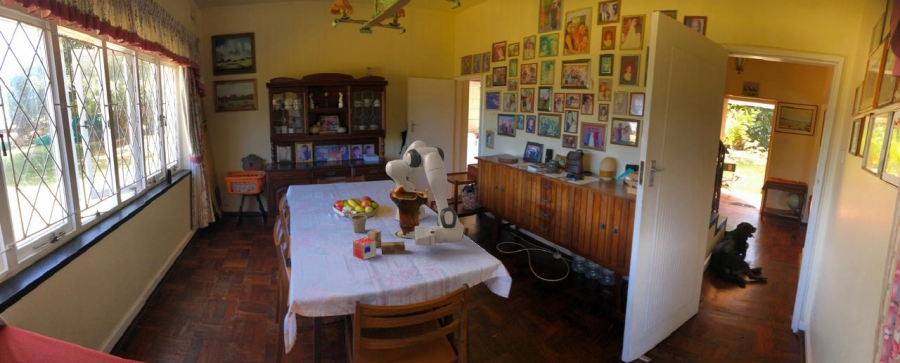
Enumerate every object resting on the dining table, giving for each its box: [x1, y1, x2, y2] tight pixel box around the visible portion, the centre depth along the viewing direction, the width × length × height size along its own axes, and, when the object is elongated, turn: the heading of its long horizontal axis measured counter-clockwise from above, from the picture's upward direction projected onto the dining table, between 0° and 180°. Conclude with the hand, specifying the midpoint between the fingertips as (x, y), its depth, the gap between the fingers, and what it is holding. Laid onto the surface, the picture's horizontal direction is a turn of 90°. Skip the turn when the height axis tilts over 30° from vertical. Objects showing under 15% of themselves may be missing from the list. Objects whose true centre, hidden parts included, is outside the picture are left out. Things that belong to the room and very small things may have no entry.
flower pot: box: [350, 214, 368, 234], centre depth 253 cm, size 9×9×9 cm
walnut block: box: [380, 240, 407, 255], centre depth 222 cm, size 5×5×12 cm
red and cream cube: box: [352, 236, 377, 261], centre depth 216 cm, size 8×8×8 cm
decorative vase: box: [389, 185, 429, 239], centre depth 247 cm, size 21×23×28 cm
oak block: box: [367, 229, 382, 248], centre depth 230 cm, size 5×5×8 cm
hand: (405, 235), depth 221 cm, fingers closed
